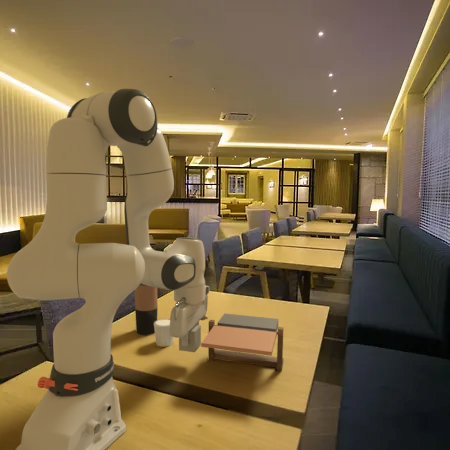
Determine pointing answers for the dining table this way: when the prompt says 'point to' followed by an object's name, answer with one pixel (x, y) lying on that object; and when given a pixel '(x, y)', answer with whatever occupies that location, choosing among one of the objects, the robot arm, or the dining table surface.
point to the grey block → (192, 340)
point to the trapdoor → (243, 334)
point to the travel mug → (145, 309)
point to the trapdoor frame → (249, 357)
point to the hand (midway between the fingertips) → (189, 340)
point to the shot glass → (163, 332)
